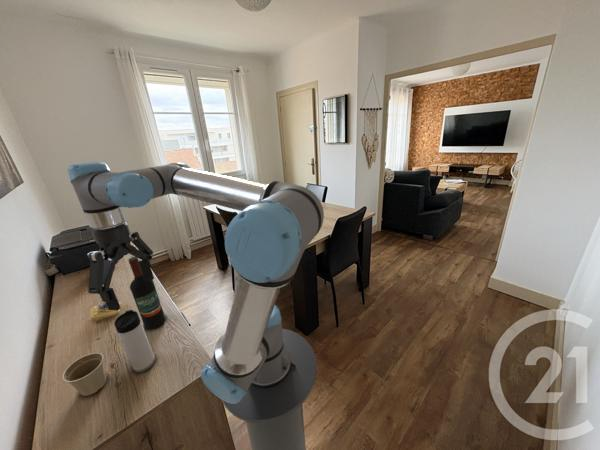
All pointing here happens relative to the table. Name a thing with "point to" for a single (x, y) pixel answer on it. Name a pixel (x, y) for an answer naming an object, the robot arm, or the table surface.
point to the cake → (102, 312)
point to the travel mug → (134, 340)
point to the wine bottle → (146, 298)
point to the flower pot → (86, 374)
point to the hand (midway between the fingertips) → (133, 292)
